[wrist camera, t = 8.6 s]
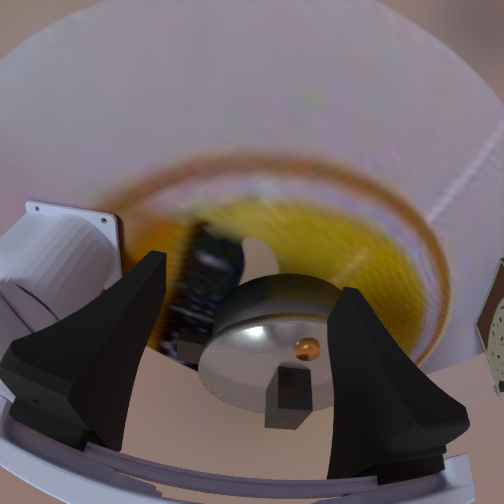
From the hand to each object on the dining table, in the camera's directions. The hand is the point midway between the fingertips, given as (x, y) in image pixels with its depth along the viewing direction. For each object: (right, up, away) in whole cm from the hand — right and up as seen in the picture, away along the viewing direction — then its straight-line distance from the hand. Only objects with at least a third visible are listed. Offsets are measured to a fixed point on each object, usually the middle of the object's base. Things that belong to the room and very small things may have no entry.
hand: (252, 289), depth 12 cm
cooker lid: (+3, -8, +11) cm, 14 cm away
